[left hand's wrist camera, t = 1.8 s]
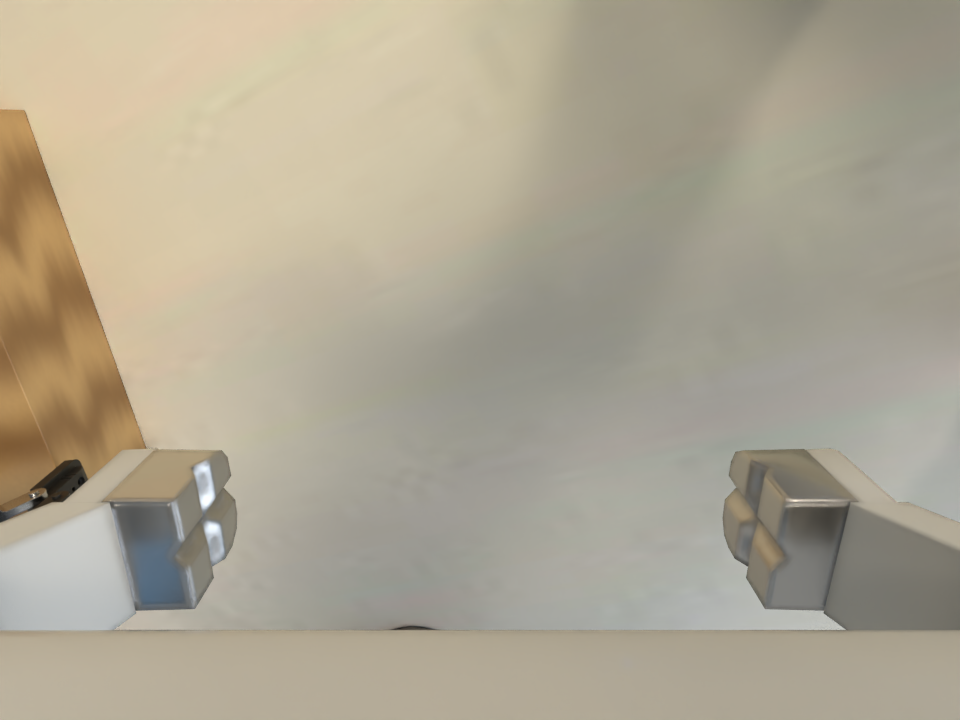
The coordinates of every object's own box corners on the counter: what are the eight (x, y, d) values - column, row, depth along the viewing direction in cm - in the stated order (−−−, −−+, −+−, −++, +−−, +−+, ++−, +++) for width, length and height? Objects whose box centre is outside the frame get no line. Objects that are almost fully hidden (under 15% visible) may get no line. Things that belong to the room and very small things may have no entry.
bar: (-52, 120, 41) (-193, 120, 33) (24, 110, 41) (-98, 107, 32) (85, 461, 51) (4, 531, 42) (148, 455, 50) (79, 523, 42)
